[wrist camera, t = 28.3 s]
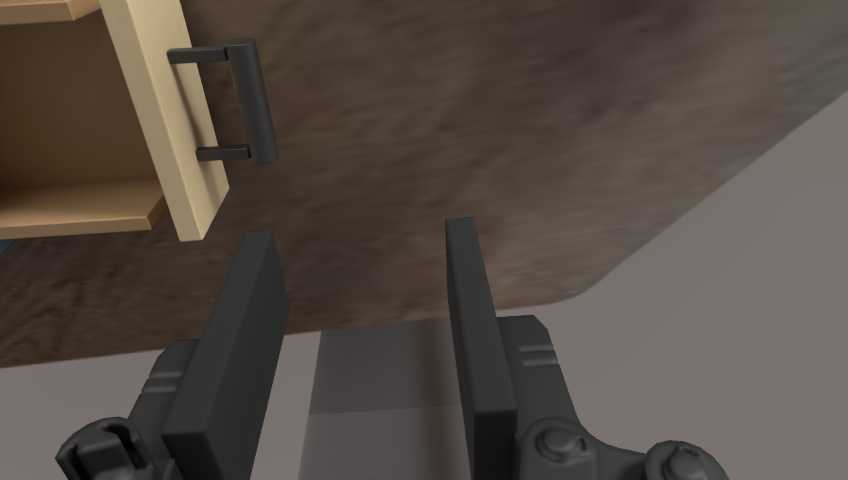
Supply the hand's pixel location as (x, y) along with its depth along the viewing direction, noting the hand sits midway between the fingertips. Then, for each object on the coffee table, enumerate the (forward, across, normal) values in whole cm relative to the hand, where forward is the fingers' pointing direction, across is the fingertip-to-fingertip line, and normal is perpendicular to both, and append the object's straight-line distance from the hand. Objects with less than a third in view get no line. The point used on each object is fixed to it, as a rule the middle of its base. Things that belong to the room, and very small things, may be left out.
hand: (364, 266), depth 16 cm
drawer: (+18, -14, 0) cm, 23 cm away
